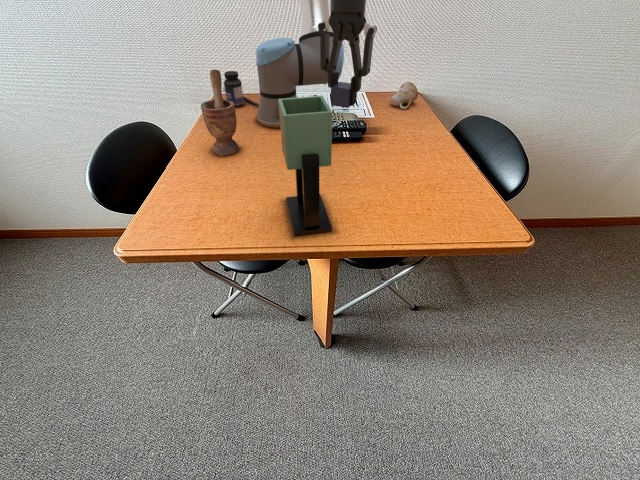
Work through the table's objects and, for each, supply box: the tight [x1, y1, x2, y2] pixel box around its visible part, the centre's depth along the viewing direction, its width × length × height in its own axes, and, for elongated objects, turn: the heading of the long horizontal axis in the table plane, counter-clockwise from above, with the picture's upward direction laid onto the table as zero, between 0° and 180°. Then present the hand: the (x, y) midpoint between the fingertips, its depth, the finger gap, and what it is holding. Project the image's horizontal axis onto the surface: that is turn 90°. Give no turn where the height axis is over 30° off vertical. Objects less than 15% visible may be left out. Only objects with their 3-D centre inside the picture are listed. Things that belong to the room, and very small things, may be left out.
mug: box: [390, 81, 419, 110], centre depth 124 cm, size 8×10×10 cm
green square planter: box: [278, 95, 333, 171], centre depth 62 cm, size 8×8×10 cm
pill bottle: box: [223, 70, 245, 108], centre depth 122 cm, size 6×6×11 cm
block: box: [331, 81, 351, 109], centre depth 85 cm, size 4×4×4 cm
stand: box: [285, 154, 333, 237], centre depth 69 cm, size 8×13×17 cm, turn 11°
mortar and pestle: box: [200, 69, 240, 157], centre depth 93 cm, size 12×9×20 cm
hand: (343, 102), depth 87 cm, fingers closed on block, 4 cm apart
